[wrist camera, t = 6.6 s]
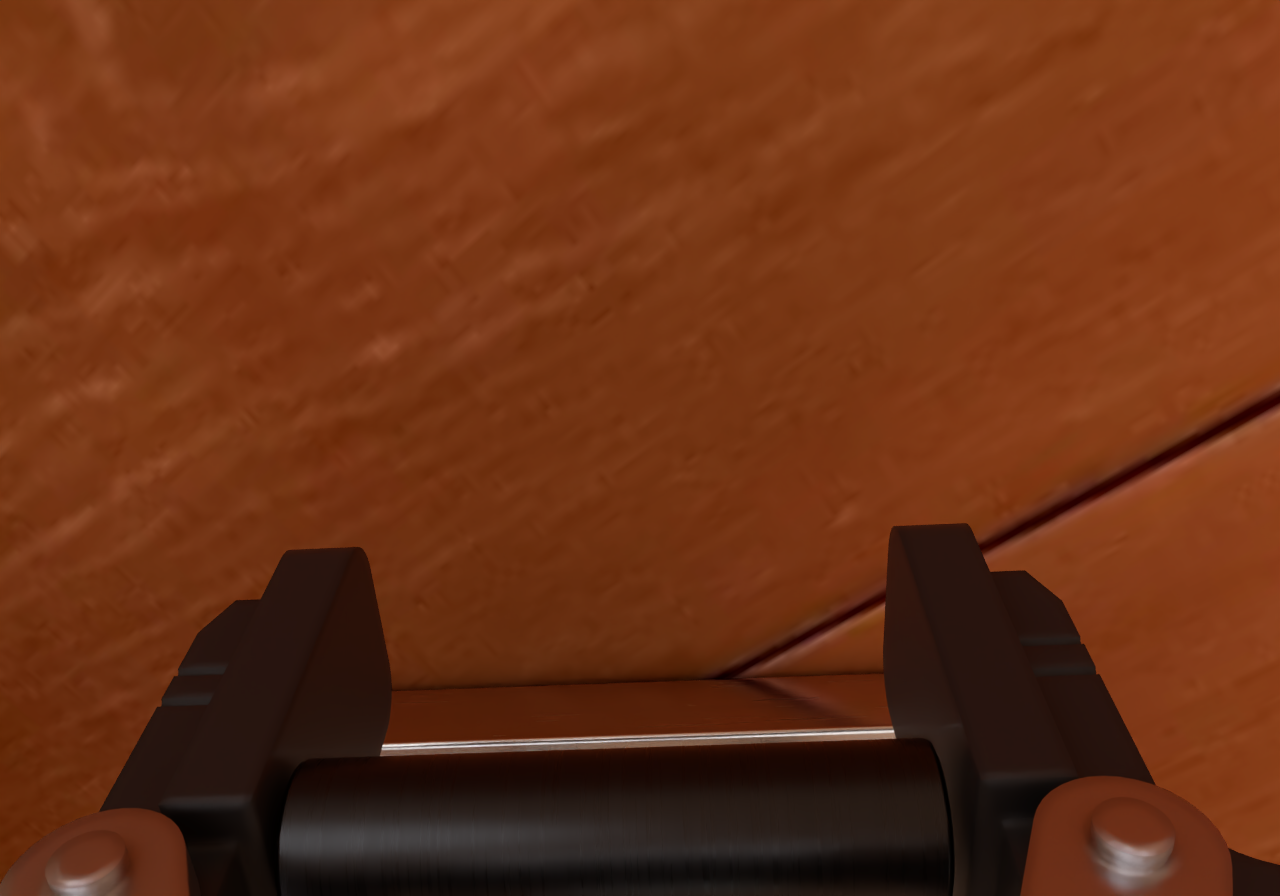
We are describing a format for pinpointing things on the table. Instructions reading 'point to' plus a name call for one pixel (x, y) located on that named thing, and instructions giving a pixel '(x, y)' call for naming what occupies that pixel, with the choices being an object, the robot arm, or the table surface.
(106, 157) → the table surface
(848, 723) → the bracket
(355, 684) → the robot arm
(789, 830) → the lever
